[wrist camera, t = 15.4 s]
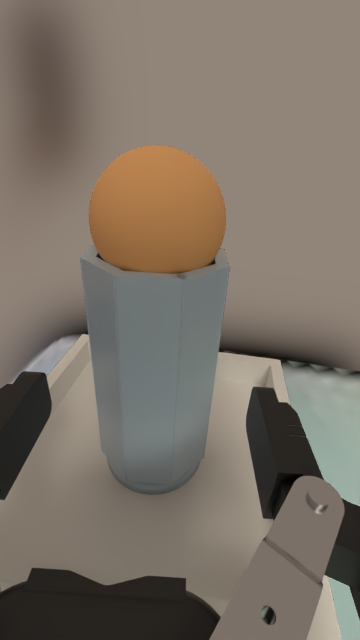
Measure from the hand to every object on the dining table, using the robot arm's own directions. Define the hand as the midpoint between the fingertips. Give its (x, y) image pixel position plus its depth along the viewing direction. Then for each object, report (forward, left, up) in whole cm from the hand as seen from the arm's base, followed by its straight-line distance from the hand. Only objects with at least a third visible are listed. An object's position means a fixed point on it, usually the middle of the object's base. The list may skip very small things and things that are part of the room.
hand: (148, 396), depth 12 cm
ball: (-2, -3, +6) cm, 7 cm away
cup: (-2, -3, -7) cm, 8 cm away
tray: (-2, -3, -8) cm, 9 cm away
